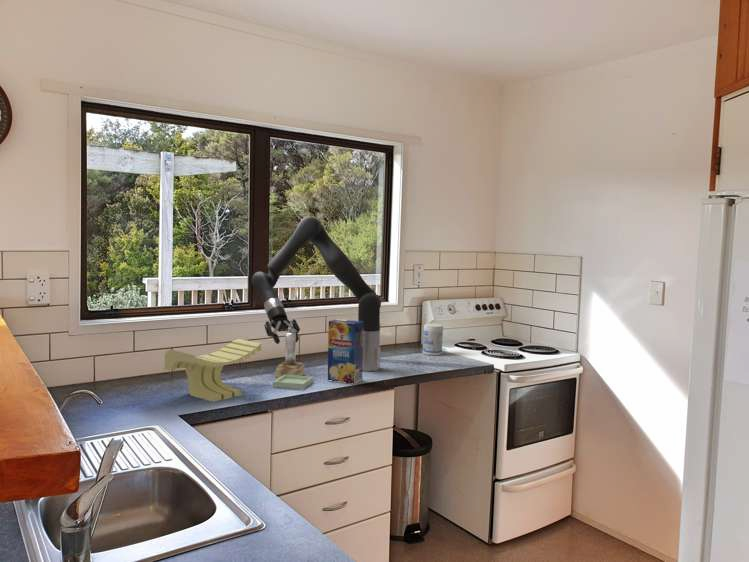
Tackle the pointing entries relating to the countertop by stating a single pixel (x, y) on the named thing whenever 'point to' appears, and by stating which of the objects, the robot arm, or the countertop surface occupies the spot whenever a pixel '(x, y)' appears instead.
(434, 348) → the supplement tub
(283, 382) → the tray
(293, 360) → the translucent grey cylinder
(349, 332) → the juice carton
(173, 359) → the slatted curved stool
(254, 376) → the countertop surface
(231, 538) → the countertop surface
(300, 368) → the bracket block
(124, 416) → the countertop surface
